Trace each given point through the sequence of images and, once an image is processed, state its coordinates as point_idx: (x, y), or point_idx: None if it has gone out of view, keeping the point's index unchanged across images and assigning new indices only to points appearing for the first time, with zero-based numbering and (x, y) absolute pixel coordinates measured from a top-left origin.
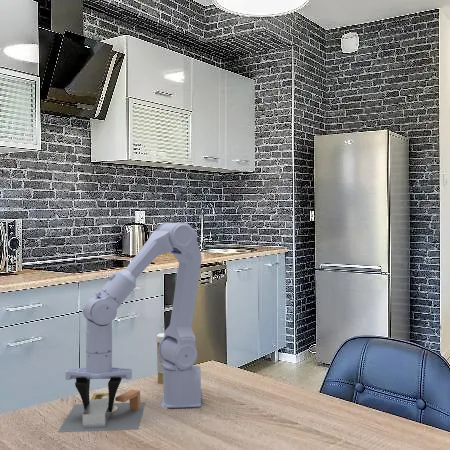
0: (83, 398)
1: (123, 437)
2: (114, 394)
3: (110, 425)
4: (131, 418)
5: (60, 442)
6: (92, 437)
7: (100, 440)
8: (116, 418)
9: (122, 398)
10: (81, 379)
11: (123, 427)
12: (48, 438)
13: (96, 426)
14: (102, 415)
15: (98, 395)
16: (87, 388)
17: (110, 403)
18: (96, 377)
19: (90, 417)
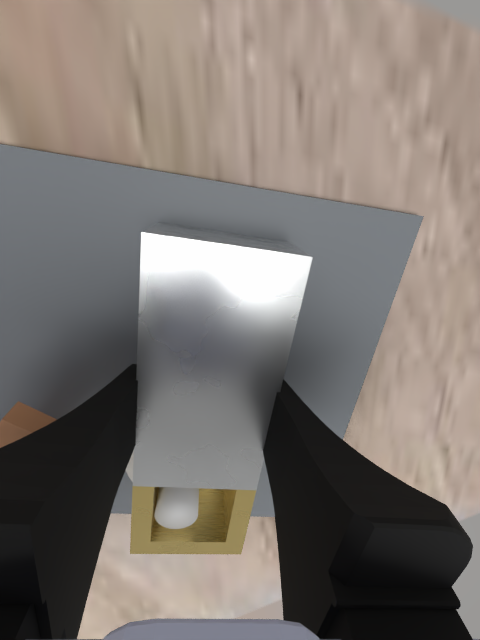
0: (317, 427)
1: (13, 33)
2: (46, 426)
3: (130, 247)
4: (20, 327)
5: (419, 68)
6: (229, 101)
7: (173, 21)
8: (110, 344)
9: (15, 426)
10: (405, 626)
11: (39, 194)
12: (470, 161)
13: (211, 230)
14: (164, 233)
15: (216, 536)
16: (301, 519)
17: (115, 387)
18: (202, 634)
19: (252, 245)
